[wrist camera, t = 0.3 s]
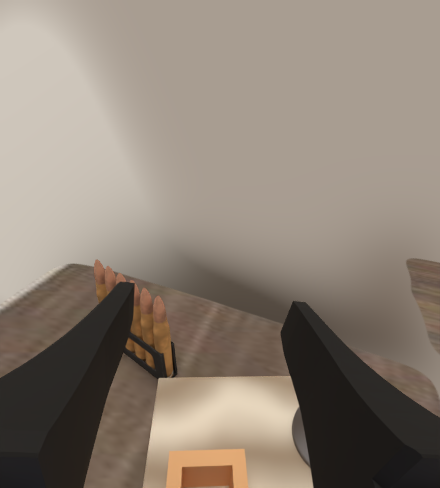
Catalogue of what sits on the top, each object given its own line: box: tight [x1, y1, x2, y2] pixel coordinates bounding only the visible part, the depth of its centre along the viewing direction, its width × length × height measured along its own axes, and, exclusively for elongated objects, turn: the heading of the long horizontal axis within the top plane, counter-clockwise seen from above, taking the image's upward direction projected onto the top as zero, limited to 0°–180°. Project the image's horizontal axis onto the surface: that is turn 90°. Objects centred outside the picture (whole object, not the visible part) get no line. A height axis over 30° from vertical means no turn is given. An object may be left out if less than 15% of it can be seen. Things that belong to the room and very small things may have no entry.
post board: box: [143, 376, 313, 488], centre depth 23 cm, size 16×22×7 cm
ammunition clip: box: [94, 260, 177, 380], centre depth 31 cm, size 11×2×12 cm, turn 55°
